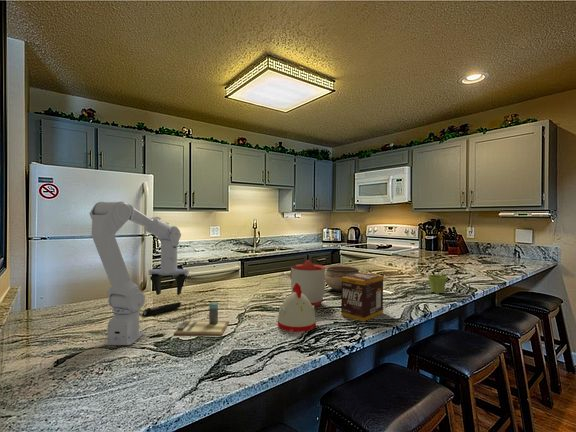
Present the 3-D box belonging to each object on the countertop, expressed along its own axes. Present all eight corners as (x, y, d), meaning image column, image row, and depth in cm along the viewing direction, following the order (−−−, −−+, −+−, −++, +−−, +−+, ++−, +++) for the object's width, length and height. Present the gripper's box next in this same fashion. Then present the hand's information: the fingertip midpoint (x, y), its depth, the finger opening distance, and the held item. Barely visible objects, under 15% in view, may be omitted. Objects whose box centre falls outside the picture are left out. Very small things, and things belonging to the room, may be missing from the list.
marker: (217, 324, 110) (217, 304, 110) (208, 324, 110) (208, 304, 110) (218, 321, 113) (218, 302, 113) (210, 321, 113) (210, 302, 113)
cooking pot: (372, 294, 158) (372, 270, 158) (343, 298, 149) (343, 273, 149) (341, 284, 180) (341, 263, 180) (314, 287, 171) (314, 265, 171)
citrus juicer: (293, 297, 150) (294, 256, 150) (329, 301, 143) (329, 258, 143) (281, 306, 135) (281, 260, 135) (319, 311, 129) (320, 263, 129)
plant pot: (428, 294, 158) (428, 277, 158) (426, 290, 167) (426, 274, 167) (448, 295, 156) (449, 278, 156) (445, 291, 165) (445, 275, 165)
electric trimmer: (182, 310, 131) (182, 302, 131) (145, 317, 120) (145, 309, 120) (178, 308, 133) (178, 300, 133) (141, 315, 122) (142, 307, 122)
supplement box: (340, 315, 124) (340, 276, 124) (361, 307, 134) (361, 271, 134) (363, 322, 116) (363, 280, 116) (383, 313, 127) (383, 275, 127)
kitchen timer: (283, 333, 105) (283, 289, 105) (273, 319, 118) (274, 280, 118) (321, 329, 108) (321, 286, 108) (308, 317, 122) (308, 279, 122)
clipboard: (222, 335, 102) (222, 331, 102) (173, 335, 102) (173, 330, 102) (228, 322, 114) (228, 319, 114) (185, 322, 114) (185, 318, 114)
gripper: (191, 256, 120) (191, 291, 120) (154, 256, 120) (154, 291, 120) (185, 259, 113) (185, 296, 113) (146, 259, 113) (145, 296, 113)
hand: (168, 294), depth 116 cm, fingers open, 7 cm apart
